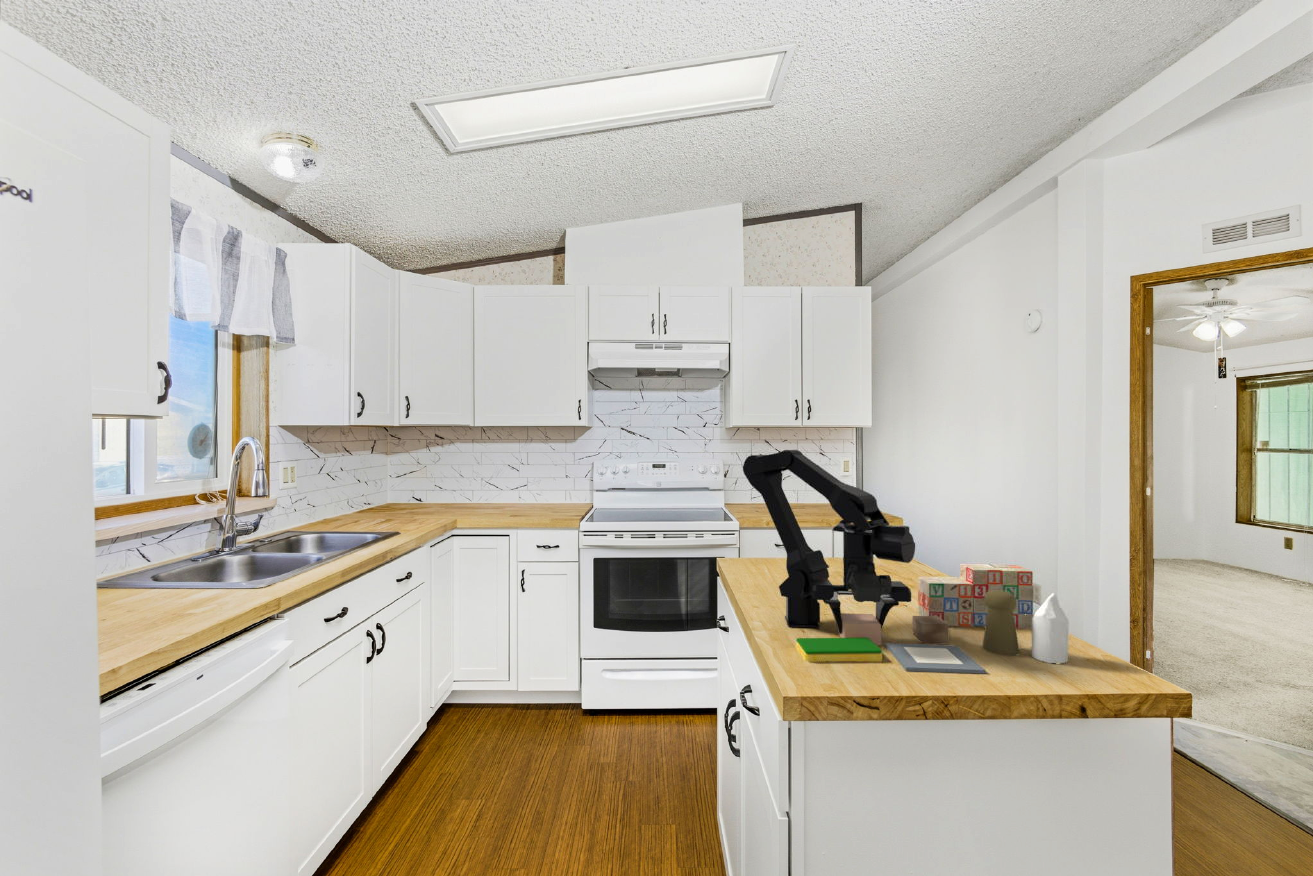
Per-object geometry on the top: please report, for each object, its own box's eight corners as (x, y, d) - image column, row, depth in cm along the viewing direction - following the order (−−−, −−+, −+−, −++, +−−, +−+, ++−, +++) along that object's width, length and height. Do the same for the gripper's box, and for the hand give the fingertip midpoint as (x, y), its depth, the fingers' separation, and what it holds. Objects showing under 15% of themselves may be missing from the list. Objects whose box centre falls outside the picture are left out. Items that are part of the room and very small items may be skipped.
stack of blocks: (928, 626, 123) (928, 568, 123) (918, 617, 129) (917, 562, 129) (1034, 628, 121) (1033, 570, 121) (1018, 619, 127) (1017, 564, 127)
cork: (1015, 646, 110) (1014, 588, 110) (1023, 657, 104) (1022, 596, 105) (979, 642, 112) (978, 586, 112) (986, 653, 106) (985, 594, 106)
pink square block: (844, 643, 112) (844, 623, 112) (838, 632, 119) (838, 613, 119) (881, 645, 111) (880, 624, 111) (872, 633, 118) (872, 614, 118)
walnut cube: (921, 644, 112) (921, 623, 112) (912, 635, 117) (912, 615, 117) (948, 644, 112) (948, 624, 112) (938, 636, 117) (938, 616, 117)
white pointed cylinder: (1029, 586, 108) (1065, 590, 105) (1030, 650, 108) (1066, 655, 105) (1032, 594, 103) (1070, 597, 100) (1033, 661, 103) (1071, 666, 100)
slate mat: (905, 670, 99) (905, 666, 99) (885, 646, 110) (885, 642, 110) (985, 673, 97) (985, 669, 97) (956, 648, 109) (956, 644, 109)
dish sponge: (882, 663, 103) (882, 650, 103) (806, 664, 103) (806, 651, 103) (867, 649, 110) (867, 636, 110) (796, 650, 110) (795, 637, 110)
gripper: (817, 563, 108) (818, 646, 108) (920, 564, 106) (921, 649, 106) (808, 551, 119) (809, 627, 119) (901, 553, 117) (902, 629, 117)
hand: (859, 633), depth 115 cm, fingers closed on pink square block, 7 cm apart
